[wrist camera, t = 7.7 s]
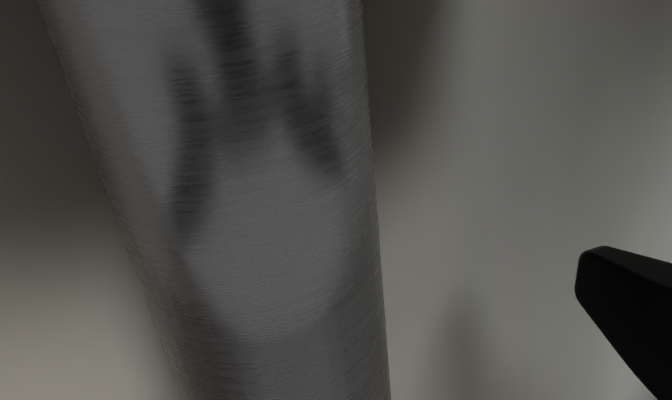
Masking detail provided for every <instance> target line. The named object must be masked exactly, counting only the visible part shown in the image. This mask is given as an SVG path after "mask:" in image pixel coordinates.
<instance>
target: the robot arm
mask: <svg viewBox="0 0 672 400" xmlns="http://www.w3.org/2000/svg"><path fill="white" fill-rule="evenodd" d="M575 295H576V298H577V300H578V302H579V303H580V304H581V306H582V307H583V308H584V310H585V311H586V312H587V314H588V315H589V316H590V317H591V319H592V320H593V321H594V323H595V324H596V325H597V327H598V328H599V329H600V331H601V332H602V333H603V334H604V336H605V337H606V338H607V340H608V341H609V342H610V344H611V345H612V346H613V347H614V349H615V350H616V351H617V353H618V354H619V355H620V357H621V358H622V359H623V360H624V362H625V363H626V364H627V365H628V367H629V368H630V369H631V370H632V372H633V373H634V374H635V375H636V376H637V377H638V379H639V380H640V381H641V382H642V383H643V384H644V385H645V387H646V388H647V389H648V390H649V391H650V392H651V393H652V394H653V395H654V396H655V397H656V398H657V399H658V400H672V263H669V262H665V261H661V260H657V259H654V258H650V257H646V256H642V255H639V254H635V253H631V252H627V251H624V250H620V249H616V248H612V247H609V246H599V247H596V248H593V249H590V250H587V251H584V252H583V253H582V254H581V255H580V257H579V261H578V268H577V274H576V281H575Z"/></svg>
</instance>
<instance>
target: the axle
mask: <svg viewBox="0 0 672 400" xmlns="http://www.w3.org/2000/svg"><path fill="white" fill-rule="evenodd" d="M37 1H38V4H39V7H40V9H41V12H42V15H43V18H44V20H45V23H46V26H47V29H48V31H49V34H50V37H51V40H52V42H53V45H54V48H55V51H56V53H57V56H58V59H59V62H60V64H61V67H62V70H63V73H64V75H65V78H66V81H67V84H68V86H69V89H70V92H71V95H72V97H73V100H74V103H75V106H76V108H77V111H78V114H79V117H80V119H81V122H82V125H83V128H84V130H85V133H86V136H87V139H88V141H89V144H90V147H91V150H92V152H93V155H94V158H95V161H96V164H97V166H98V169H99V172H100V175H101V177H102V180H103V183H104V186H105V188H106V191H107V194H108V197H109V199H110V202H111V205H112V208H113V210H114V213H115V216H116V219H117V221H118V224H119V227H120V230H121V232H122V235H123V238H124V241H125V243H126V246H127V249H128V252H129V254H130V257H131V260H132V263H133V265H134V268H135V271H136V274H137V276H138V279H139V282H140V285H141V287H142V290H143V293H144V296H145V298H146V301H147V304H148V307H149V309H150V312H151V315H152V318H153V320H154V323H155V326H156V329H157V331H158V334H159V337H160V340H161V342H162V345H163V348H164V351H165V353H166V356H167V359H168V362H169V364H170V367H171V370H172V373H173V375H174V378H175V381H176V384H177V386H178V389H179V392H180V395H181V397H182V400H391V392H390V379H389V365H388V351H387V338H386V324H385V310H384V297H383V283H382V270H381V256H380V242H379V229H378V215H377V201H376V188H375V174H374V160H373V147H372V133H371V120H370V106H369V92H368V79H367V65H366V51H365V38H364V24H363V10H362V0H37Z"/></svg>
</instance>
